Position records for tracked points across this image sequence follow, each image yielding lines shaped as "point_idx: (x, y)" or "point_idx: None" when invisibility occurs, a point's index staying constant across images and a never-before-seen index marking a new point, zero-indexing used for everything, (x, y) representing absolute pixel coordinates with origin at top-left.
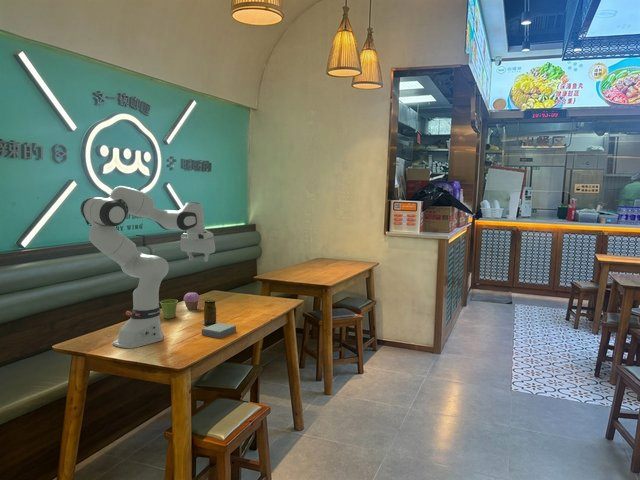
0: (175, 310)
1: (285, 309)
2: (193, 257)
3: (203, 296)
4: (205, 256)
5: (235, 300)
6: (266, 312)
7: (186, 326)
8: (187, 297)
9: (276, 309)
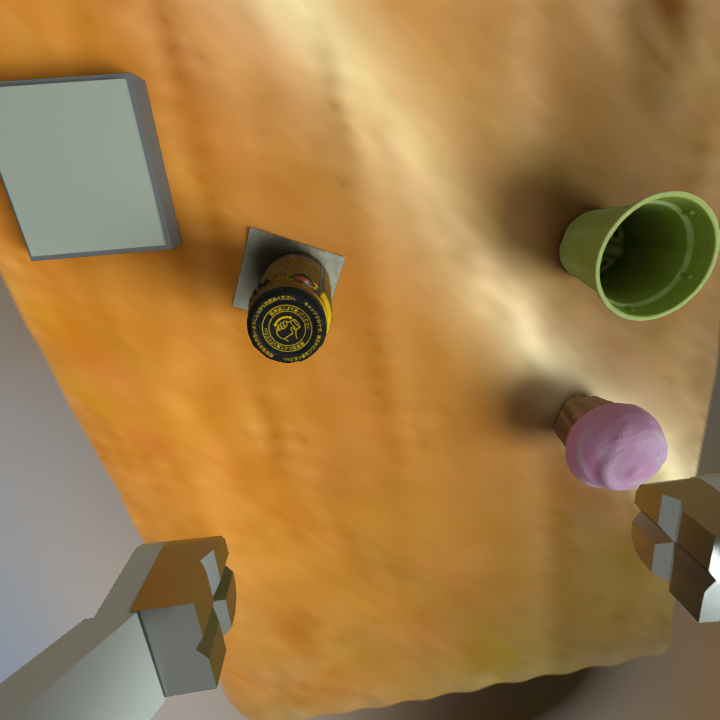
0: (576, 268)
1: None
2: (675, 592)
3: None
4: (25, 689)
5: (488, 607)
6: None
7: (366, 162)
8: (622, 418)
9: None
